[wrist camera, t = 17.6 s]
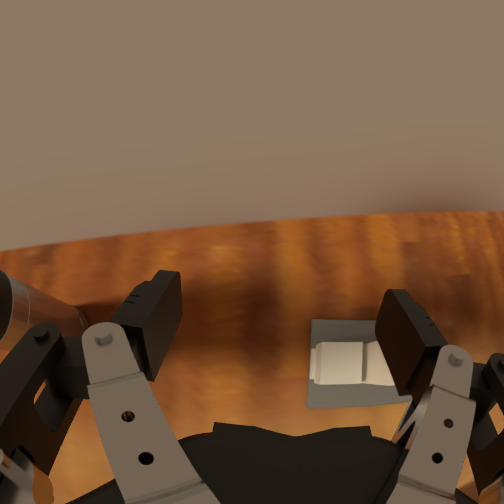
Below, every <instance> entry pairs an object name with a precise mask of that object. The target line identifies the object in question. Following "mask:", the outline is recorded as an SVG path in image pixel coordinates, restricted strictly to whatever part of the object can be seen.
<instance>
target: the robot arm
mask: <svg viewBox="0 0 504 504" xmlns="http://www.w3.org/2000/svg"><path fill="white" fill-rule="evenodd" d="M181 316H182V296H181V279H180V273H179V272H177V271H167V270H159V271H158V272H157V273H156V275H155V276H154V277H153V279H152V280H151V281H144V282H143V283H141V284H139V285H138V286H136V287H135V288H134V289H133V291H132V292H131V293H130V296H128V297H127V298H126V300H125V302H123V304H122V305H121V306H120V307H119V309H118V310H117V311H116V313H115V314H114V315H113V317H112V318H111V319H110V321H109V322H103V323H98V324H95V325H93V326H91V327H89V325H88V321H87V319H86V317H85V315H84V314H83V313H82V311H80V310H79V309H78V308H76V307H74V306H72V305H69V304H67V303H65V302H63V301H60V300H58V299H56V298H54V297H52V296H50V295H48V294H45V293H43V292H41V291H39V290H37V289H35V288H33V287H31V286H29V285H27V284H25V283H23V282H21V281H19V280H17V279H16V278H14V277H12V276H10V275H8V274H6V273H4V272H2V271H1V270H0V349H4V350H9V351H10V352H9V354H8V355H7V356H6V357H5V359H4V360H3V361H2V363H1V364H0V504H53V503H54V496H53V486H52V483H51V481H50V479H49V478H48V476H49V473H50V471H51V468H52V466H53V464H54V461H55V459H56V456H57V454H58V452H59V449H60V447H61V445H62V443H63V440H64V438H65V436H66V434H67V431H68V429H69V427H70V425H71V423H72V421H73V419H74V417H75V414H76V412H77V410H78V408H79V406H80V404H81V402H82V400H83V399H90V401H91V405H92V409H93V413H94V417H95V420H96V424H97V427H98V431H99V434H100V437H101V440H102V443H103V446H104V449H105V452H106V455H107V458H108V461H109V464H110V466H111V469H112V471H113V474H114V477H115V479H113V480H111V481H109V482H107V483H106V484H104V485H102V486H100V487H98V488H96V489H94V490H93V491H91V492H89V493H87V494H85V495H83V496H81V497H79V498H77V499H75V500H72V501H70V502H68V503H66V504H504V429H503V430H502V432H501V433H500V434H499V435H498V434H497V431H496V429H495V427H494V424H493V422H492V420H491V417H490V415H489V411H490V410H491V409H492V408H493V407H494V405H495V404H496V403H498V405H499V407H500V409H501V411H502V413H503V415H504V354H500V353H494V354H492V355H491V357H490V358H489V360H488V362H487V363H486V364H481V363H475V362H473V359H472V357H471V356H470V354H469V353H468V352H467V351H466V350H464V349H463V348H461V347H459V346H456V345H448V343H447V342H446V340H445V339H444V337H443V335H442V334H441V332H440V331H439V329H438V328H437V327H436V325H434V322H433V321H432V319H430V316H429V315H428V313H427V312H426V311H425V309H424V308H422V307H421V306H420V305H418V304H417V303H416V302H414V300H413V299H412V298H411V296H410V295H409V293H408V292H407V291H406V290H399V289H388V290H387V291H386V292H385V295H384V298H383V301H382V304H381V307H380V310H379V313H378V316H377V319H376V323H375V336H376V339H377V341H378V343H379V346H380V348H381V351H382V353H383V356H384V358H385V361H386V363H387V366H388V368H389V371H390V373H391V376H392V379H393V381H394V384H395V387H396V389H397V392H398V395H399V396H406V395H411V396H412V399H411V401H410V402H409V404H408V406H407V409H406V411H405V413H404V415H403V417H402V420H401V422H400V424H399V426H398V428H397V430H396V432H395V434H394V436H393V438H392V440H391V441H389V440H386V439H383V438H379V437H375V436H372V434H371V430H370V426H359V427H343V428H332V429H328V430H324V431H320V432H316V433H312V434H307V435H303V436H289V435H285V434H281V433H277V432H273V431H269V430H266V429H262V428H259V427H255V426H245V425H235V424H226V423H218V422H214V426H213V432H210V433H202V434H196V435H192V436H188V437H185V438H183V439H180V440H178V441H177V439H176V437H175V435H174V433H173V432H172V430H171V428H170V426H169V424H168V422H167V420H166V419H165V417H164V415H163V413H162V411H161V409H160V407H159V405H158V403H157V401H156V399H155V397H154V394H153V392H152V390H151V388H150V386H149V384H148V382H147V381H152V382H154V380H155V378H156V376H157V373H158V371H159V369H160V366H161V364H162V362H163V359H164V357H165V355H166V353H167V350H168V348H169V346H170V343H171V341H172V339H173V337H174V334H175V332H176V330H177V328H178V325H179V323H180V321H181ZM43 382H45V384H46V386H45V387H44V389H43V391H42V392H41V394H40V396H39V397H38V399H37V401H36V402H35V404H34V397H35V395H36V393H37V391H38V390H39V388H40V386H41V385H42V383H43ZM466 452H467V455H468V458H469V461H470V465H471V468H472V472H473V475H474V479H475V483H476V487H477V491H478V495H479V499H478V503H477V502H475V501H474V500H472V499H471V498H470V497H468V496H467V495H465V494H464V493H462V492H461V491H460V490H458V489H457V488H456V486H457V483H458V480H459V476H460V473H461V470H462V466H463V463H464V459H465V456H466Z"/></svg>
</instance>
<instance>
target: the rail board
mask: <svg viewBox="0 0 504 504" xmlns="http://www.w3.org/2000/svg"><path fill="white" fill-rule="evenodd" d="M375 323H376V320H323V319H312V320H311V336H310V356H309V373H308V388H307V401H306V408H345V407H362V406H375V405H386V404H395V403H403V402H410V401H411V399H412V396H411V395H406V396H399V395H398V392H397V389H396V387H395V385H393V386H385V385H375V384H365V383H361V378H362V353H363V345H364V344H368V343H371V342H374V341H377V339H376V336H375Z"/></svg>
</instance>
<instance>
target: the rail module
mask: <svg viewBox="0 0 504 504" xmlns="http://www.w3.org/2000/svg"><path fill="white" fill-rule="evenodd" d="M361 383H365V384H375V385H385V386H393V385H395V384H394V381H393V379H392V376H391V373H390V371H389V368H388V366H387V363H386V361H385V358H384V356H383V353H382V351H381V348H380V346H379V343H378V341H374V342H371V343H368V344H364V345H363V353H362V378H361Z"/></svg>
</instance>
